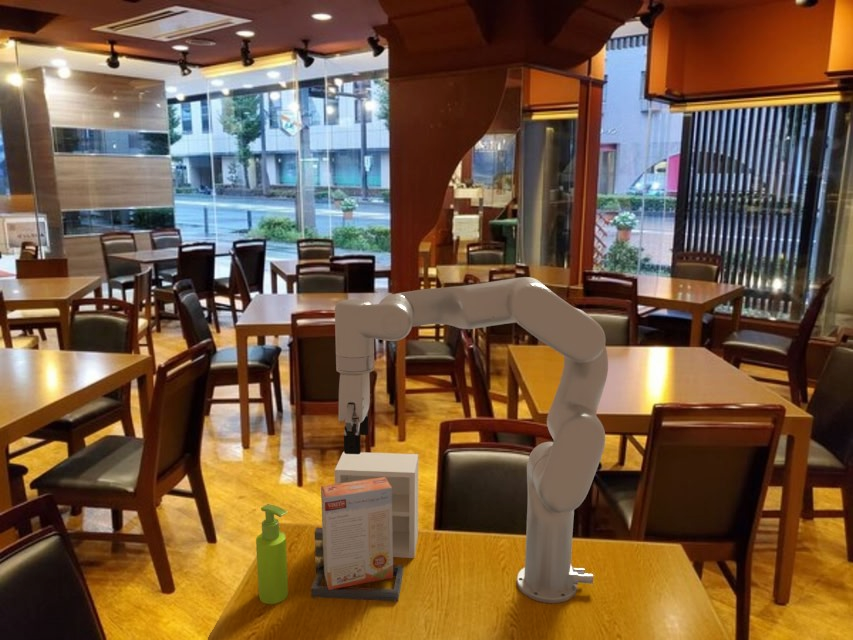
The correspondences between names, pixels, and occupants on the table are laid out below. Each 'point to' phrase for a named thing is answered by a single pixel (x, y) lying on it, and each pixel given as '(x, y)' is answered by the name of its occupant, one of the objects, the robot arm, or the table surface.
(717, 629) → the table surface
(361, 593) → the dark gray rectangular frame
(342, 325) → the robot arm
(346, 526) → the cracker box
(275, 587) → the soap dispenser
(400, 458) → the cabinet
